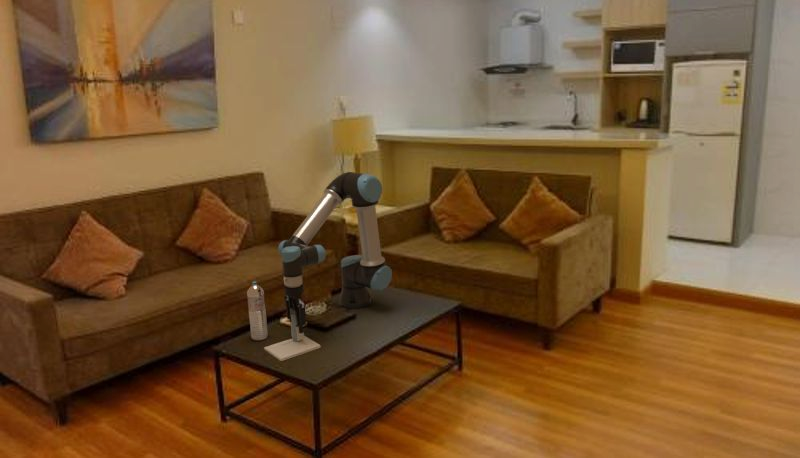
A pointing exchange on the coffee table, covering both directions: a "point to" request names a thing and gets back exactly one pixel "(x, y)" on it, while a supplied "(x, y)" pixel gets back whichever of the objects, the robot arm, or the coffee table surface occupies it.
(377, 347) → the coffee table surface
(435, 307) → the coffee table surface
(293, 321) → the cylinder
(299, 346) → the notepad
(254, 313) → the water bottle
